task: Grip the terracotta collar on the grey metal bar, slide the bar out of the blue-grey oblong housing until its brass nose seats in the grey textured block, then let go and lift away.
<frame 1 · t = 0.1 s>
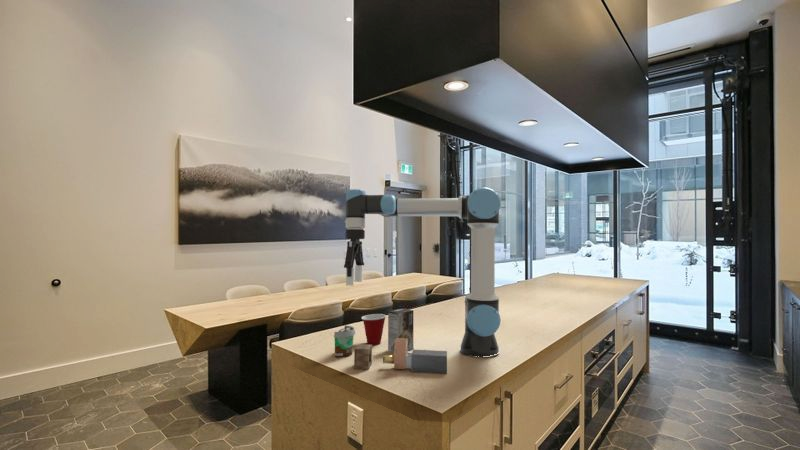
hand: (354, 283, 148), 28 cm above the worktop, tool pointing down, fingers open, 13 cm apart
plastic cup: (373, 343, 166), on the worktop
blue-grey oblong housing: (429, 370, 132), on the worktop
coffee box: (400, 350, 156), on the worktop
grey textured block: (363, 366, 135), on the worktop
slider: (414, 353, 133), point 5 cm above the worktop, slide at 0.0 cm
food container: (346, 355, 149), on the worktop
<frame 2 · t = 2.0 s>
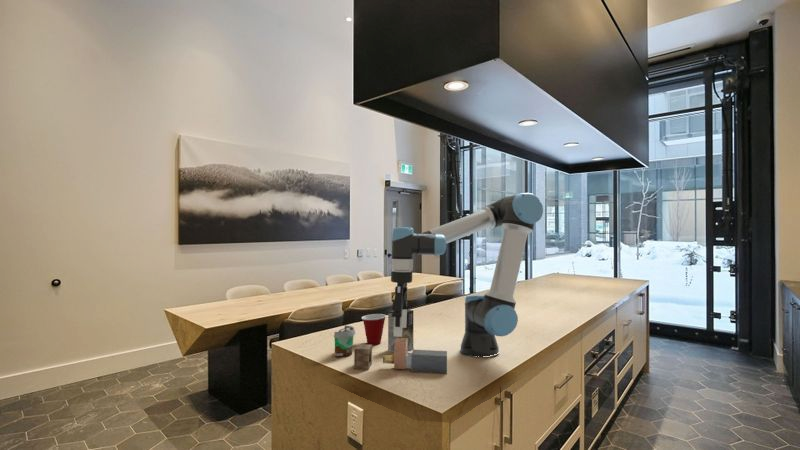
hand: (400, 331, 133), 13 cm above the worktop, tool pointing down, fingers open, 13 cm apart
nothing on the worktop moved.
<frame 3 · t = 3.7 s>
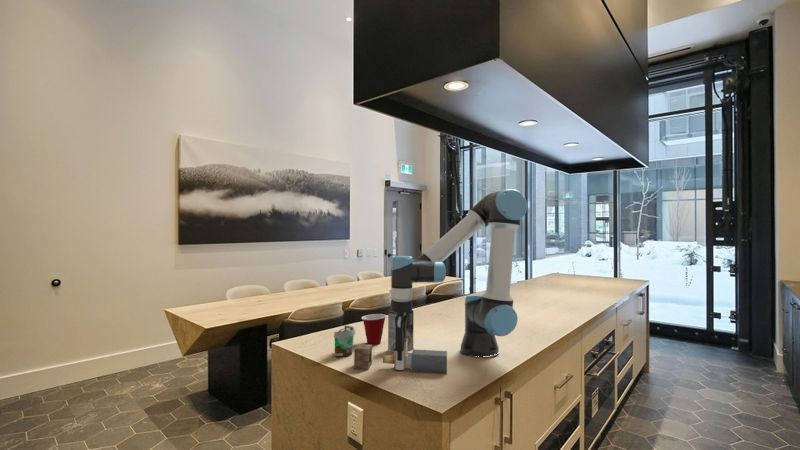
hand: (400, 366, 133), 1 cm above the worktop, tool pointing down, fingers closed on slider, 5 cm apart
slider: (414, 353, 133), point 5 cm above the worktop, slide at 0.0 cm, touching gripper
everything else where it was.
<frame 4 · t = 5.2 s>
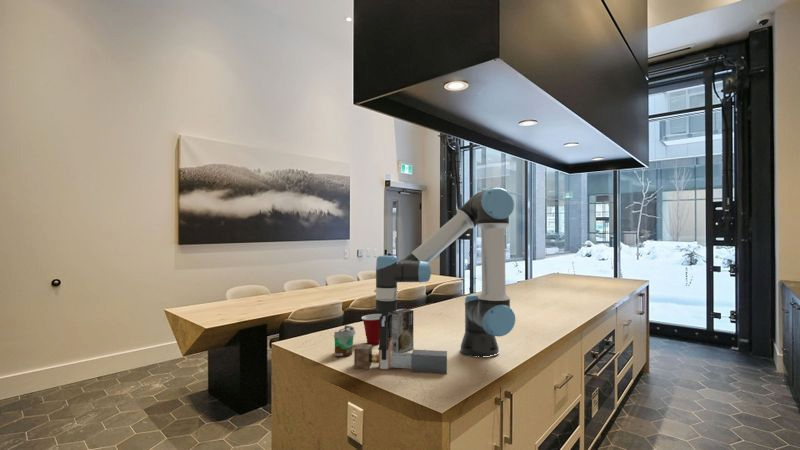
hand: (385, 365, 134), 1 cm above the worktop, tool pointing down, fingers closed on slider, 5 cm apart
slider: (398, 353, 133), point 5 cm above the worktop, slide at 5.4 cm, touching gripper
everything else where it was.
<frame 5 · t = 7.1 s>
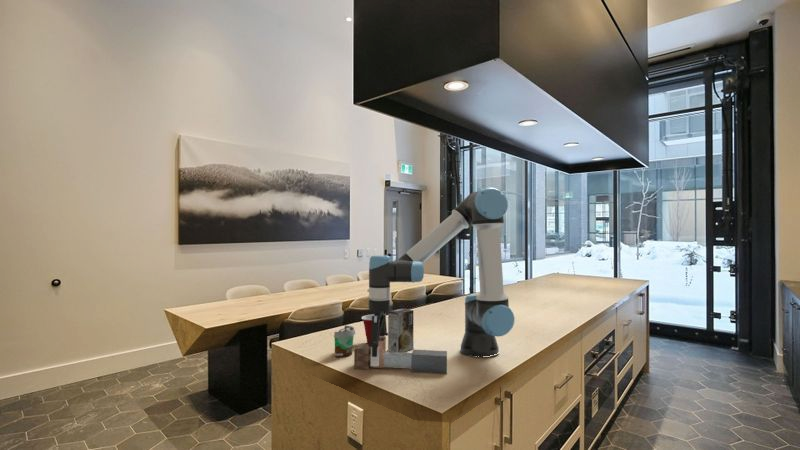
hand: (378, 359, 134), 3 cm above the worktop, tool pointing down, fingers open, 13 cm apart
slider: (391, 352, 134), point 5 cm above the worktop, slide at 7.9 cm
everything else where it was.
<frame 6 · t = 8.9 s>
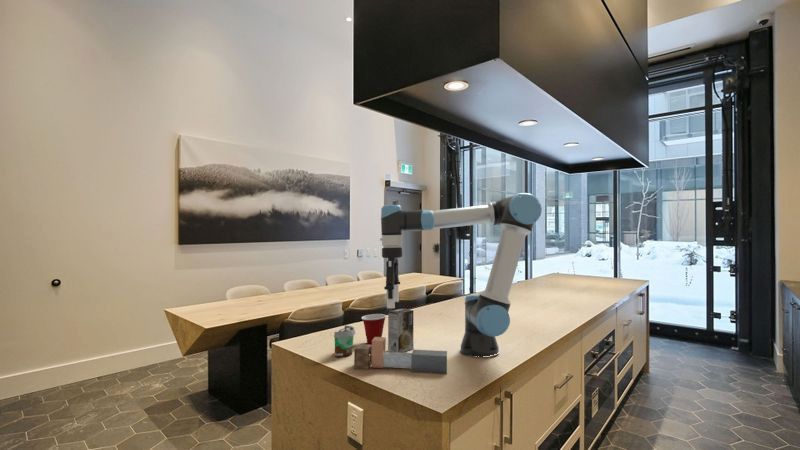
hand: (393, 304, 140), 21 cm above the worktop, tool pointing down, fingers open, 13 cm apart
nothing on the worktop moved.
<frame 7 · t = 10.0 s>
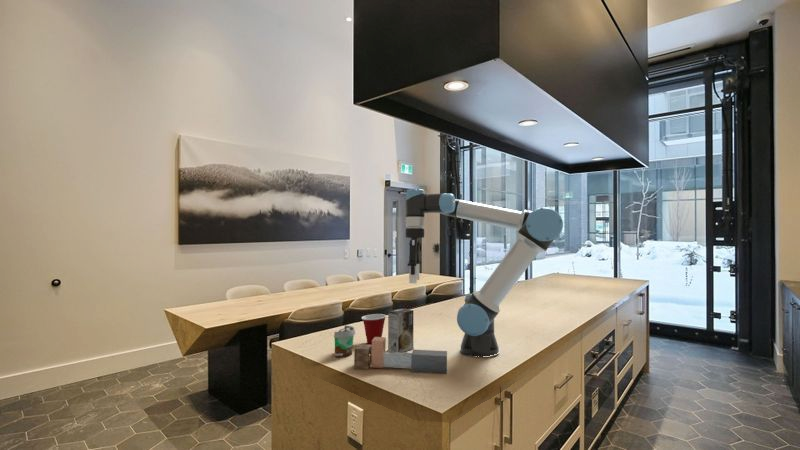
hand: (414, 281, 151), 29 cm above the worktop, tool pointing down, fingers open, 13 cm apart
nothing on the worktop moved.
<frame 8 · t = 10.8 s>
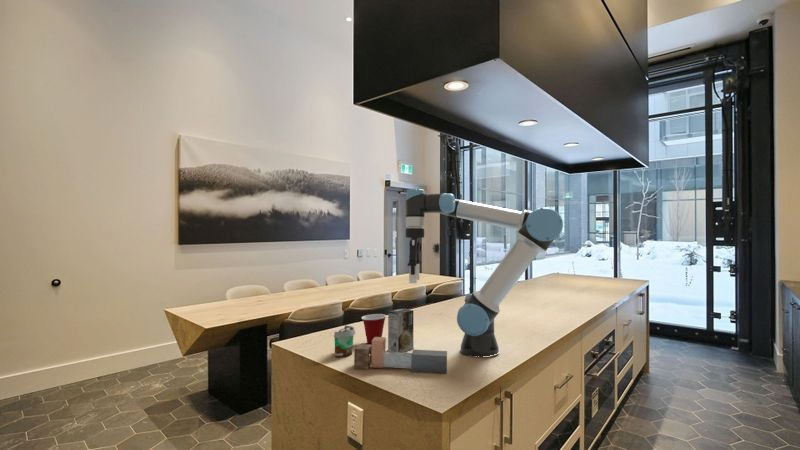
hand: (414, 281, 151), 29 cm above the worktop, tool pointing down, fingers open, 13 cm apart
nothing on the worktop moved.
at the end: slider slide at 7.9 cm; the gripper is holding nothing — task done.
